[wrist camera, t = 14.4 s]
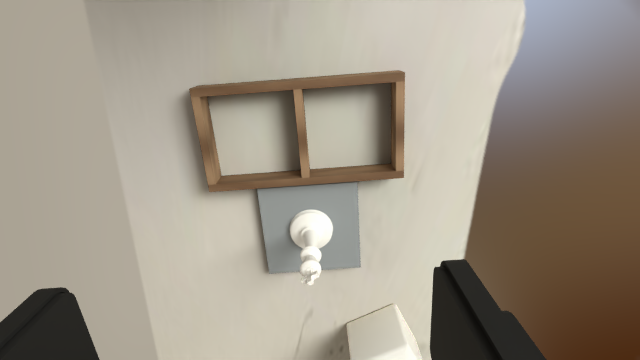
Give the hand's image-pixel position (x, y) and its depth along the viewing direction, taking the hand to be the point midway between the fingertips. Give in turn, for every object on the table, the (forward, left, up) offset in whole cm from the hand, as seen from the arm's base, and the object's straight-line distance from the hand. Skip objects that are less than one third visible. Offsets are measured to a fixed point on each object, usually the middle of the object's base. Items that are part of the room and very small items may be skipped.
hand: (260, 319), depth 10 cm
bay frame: (+2, 0, -30) cm, 30 cm away
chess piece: (+13, 0, -30) cm, 32 cm away
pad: (+14, 0, -30) cm, 33 cm away
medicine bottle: (+30, +8, -31) cm, 44 cm away
